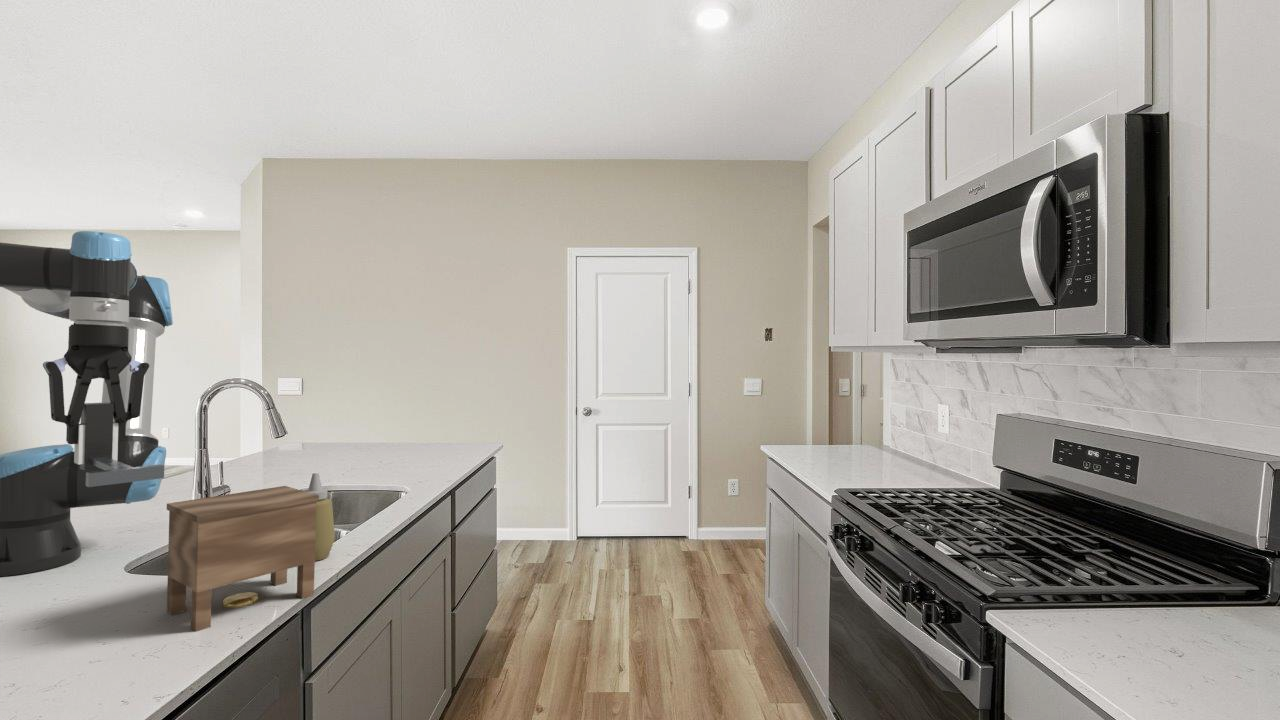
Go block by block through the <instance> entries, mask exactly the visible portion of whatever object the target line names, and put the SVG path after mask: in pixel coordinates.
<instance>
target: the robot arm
mask: <svg viewBox="0 0 1280 720" xmlns="http://www.w3.org/2000/svg"><path fill="white" fill-rule="evenodd" d="M131 249H132V248H131V241H130V239H129V238H127V237H125V236H123V235H121V234H120V235H119V234H115V233H109V232H103V231H92V230H80V231H77V232H74V233H73V234H72V236H71V244H70V248H60V247H49V246H48V247H47V246H46V247H45V246H36V245H29V244H27V245H26V244H18V243H17V244H16V243H7V242H0V288H3V289H5V290H7V291H9V292H12V293H14V295H15V294H16V295H17V296H20V297H21V299H22V301H23V302H24V303H25V304H26V305H28V306H29V307H30V308H32V309H34V310H36V311H39V312H41V313H44V314H47V315H51V316H53V317H57V318H61V319H66V320H69V321H71V322H73V324H70V326H68V348H67V350H66V352H65V353H64V355H63V357H62V358H58V359H54V360H51V361H45V362H43V363H42V367H43V369H44V370H45V372H46V373H47V375H48V386H49V387H48V388H49V405H50V417H51V420H53V421H54V422H56V423H57V422H58V423H62V424H65V425H66V438H65V439H66V440H65V441H66V443H67V444H66V443H65V444H54V445H46V446H38V447H31V448H25V449H20V450H19V449H18V450H14V451H9V452H5V453H2V454H0V577H5V576H6V577H9V576H16V575H17V576H18V575H23V574H29V573H34V572H35V573H36V572H41V571H45V570H50V569H53V568H57V567H61V566H64V565H67V564H69V563H72V562H74V561H76V560H78V559H80V558H81V557H82V545H81V544H82V543H81V542H80V539H79V537H78V535H77V533H76V530H75V528H74V525H73V524H72V521H71V509H74V508H87V507H96V506H97V507H98V506H108V505H109V506H110V505H117V504H118V505H119V504H127V505H128V504H129V505H130V504H131V503H137V502H145V501H150V500H152V499H153V498H155V497H156V496H157V494H158V492H159V490H160V487H161V484H162V479H163V478H160V479H152V480H144V481H136V482H127V483H119V484H111V485H102V486H94V487H87V486H86V472H93V471H103V469H95V470H85V471H84V470H82V469H80V464H84V452H85V425H84V424H81V415H82V411H83V407H84V403H86V400H87V394H88V392H89V388H90V385H91V384H92V380H95V379H103V383H102V385H103V386H102V395H101V396H102V397H101V403H108V402H109V403H113V404H114V408H113V446H112V459H114V460H116V461H119V462H121V463H124V464H126V465H129V466H131V467H141V466H150V465H160V464H162V465H164V466H165V465H166V457H167V449H166V446H165V447H164V446H162V445H159V438H157V437H156V436H155V435H153V434H152V433H151V429H152V427H151V426H152V413H153V412H152V411H153V409H152V408H153V396H154V395H153V393H154V379H155V377H154V376H155V359H156V358H155V357H156V346H157V345H156V342H157V338H159V337H160V336H162V335H163V334H164V333H165V329H166V327H169V326H173V324H174V322H173V313H172V306H171V305H172V304H171V299H170V298H171V297H170V291H169V284H168V282H167V281H166V280H165V279H164V278H160V277H154V276H146V275H144V274H142V275H138V270H137V269H136V266H135V265H134V264H133V262H132V261H131V258H132V255H133V253H132V250H131ZM66 365H67V366H69V368H71V369H72V371H73V372H74V373H76V374H77V375H76V379H75V386H74V390H73V394H72V397H71V401H70V405H69V408H68V411H67V415H66V413H65V397H64V394H65V393H64V379H63V374H62V373H63V372H65V370H66ZM72 445H74V448H73V446H72Z"/></svg>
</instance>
